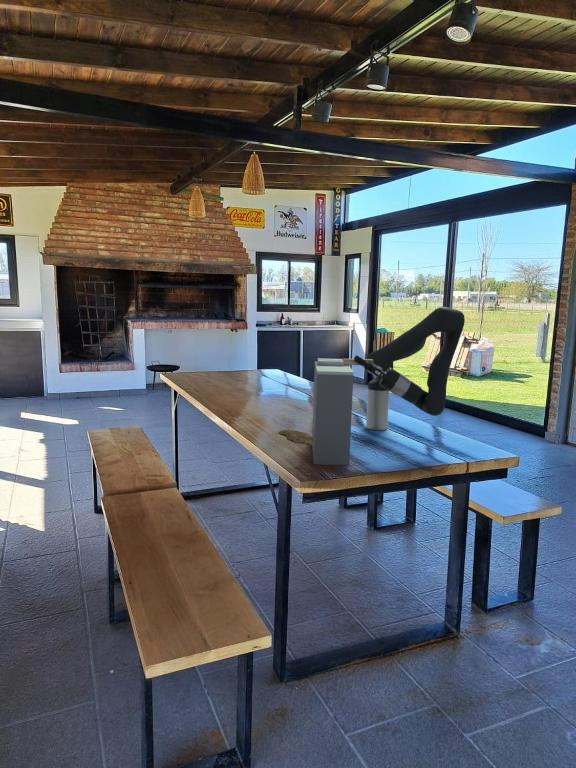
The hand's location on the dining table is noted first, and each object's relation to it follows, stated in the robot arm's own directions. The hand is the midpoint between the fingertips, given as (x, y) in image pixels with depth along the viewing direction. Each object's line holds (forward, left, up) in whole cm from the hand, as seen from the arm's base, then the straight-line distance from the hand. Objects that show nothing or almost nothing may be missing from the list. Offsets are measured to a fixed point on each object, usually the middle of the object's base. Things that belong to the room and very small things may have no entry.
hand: (355, 357), depth 199 cm
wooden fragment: (-15, -19, -35) cm, 43 cm away
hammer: (0, -3, -2) cm, 4 cm away
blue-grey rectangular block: (+6, -8, -35) cm, 36 cm away
